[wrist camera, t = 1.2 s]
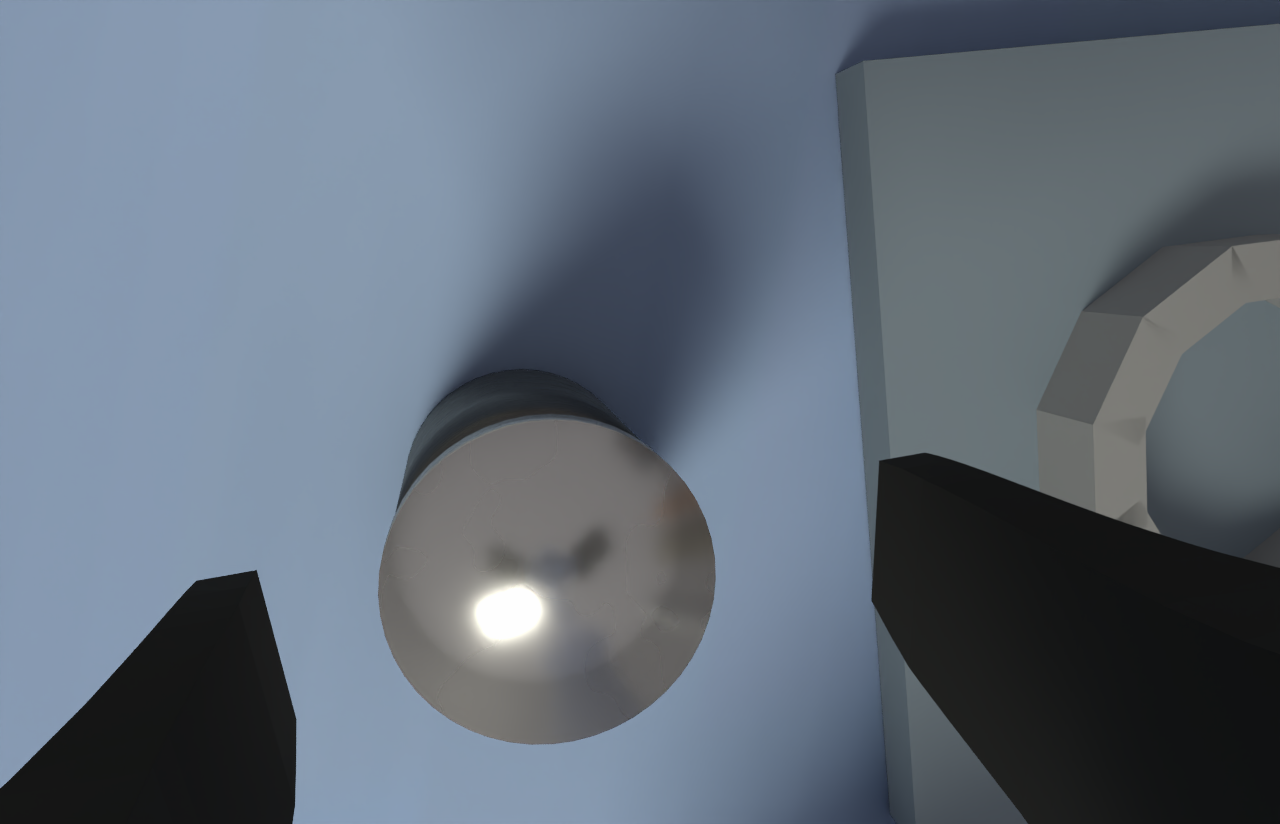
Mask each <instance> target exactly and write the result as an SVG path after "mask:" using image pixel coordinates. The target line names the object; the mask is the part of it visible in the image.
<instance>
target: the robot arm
mask: <svg viewBox="0 0 1280 824" xmlns="http://www.w3.org/2000/svg"><path fill="white" fill-rule="evenodd" d="M872 602H873V604H874V606H875V608H876V610H877V612H878V613H879V615H880V617H881V619H882V621H883V623H884V625H885V627H886V628H887V630H888V632H889V634H890V636H891V638H892V639H893V641H894V643H895V644H896V646H897V648H898V650H899V651H900V653H901V655H902V656H903V658H904V660H905V662H906V663H907V665H908V667H909V668H910V670H911V671H912V672H913V674H914V675H915V676H916V678H917V679H918V680H919V682H920V683H921V685H922V686H923V687H924V689H925V690H926V691H927V692H928V694H929V695H930V696H931V698H932V699H933V700H934V702H935V703H936V704H937V706H938V707H939V708H940V710H941V711H942V712H943V714H944V715H945V716H946V718H947V719H948V720H949V722H950V723H951V724H952V725H953V727H954V728H955V729H956V731H957V732H958V733H959V734H960V736H961V737H962V738H963V740H964V741H965V742H966V743H967V745H968V746H969V747H970V749H971V750H972V751H973V753H974V754H975V755H976V756H977V758H978V759H979V760H980V762H981V763H982V764H983V765H984V767H985V768H986V769H987V771H988V772H989V773H990V775H991V776H992V777H993V778H994V780H995V781H996V782H997V784H998V785H999V786H1000V787H1001V789H1002V790H1003V791H1004V793H1005V794H1006V795H1007V797H1008V798H1009V799H1010V800H1011V802H1012V803H1013V804H1014V806H1015V807H1016V808H1017V809H1018V811H1019V812H1020V813H1021V815H1022V816H1023V818H1024V819H1025V820H1026V822H1027V823H1028V824H1280V568H1279V567H1275V566H1271V565H1267V564H1263V563H1259V562H1255V561H1251V560H1247V559H1243V558H1240V557H1236V556H1232V555H1228V554H1224V553H1220V552H1217V551H1213V550H1210V549H1206V548H1203V547H1200V546H1196V545H1193V544H1189V543H1186V542H1183V541H1180V540H1177V539H1174V538H1171V537H1167V536H1164V535H1161V534H1158V533H1155V532H1152V531H1149V530H1146V529H1143V528H1140V527H1136V526H1133V525H1130V524H1127V523H1125V522H1122V521H1119V520H1116V519H1113V518H1110V517H1107V516H1104V515H1102V514H1099V513H1096V512H1093V511H1090V510H1088V509H1085V508H1082V507H1079V506H1077V505H1074V504H1071V503H1069V502H1066V501H1063V500H1060V499H1058V498H1055V497H1052V496H1050V495H1047V494H1044V493H1042V492H1039V491H1037V490H1034V489H1031V488H1029V487H1026V486H1023V485H1021V484H1018V483H1015V482H1013V481H1010V480H1007V479H1005V478H1002V477H999V476H997V475H994V474H991V473H989V472H986V471H983V470H980V469H977V468H975V467H972V466H969V465H966V464H963V463H960V462H957V461H954V460H951V459H948V458H944V457H941V456H937V455H933V454H929V453H919V454H914V455H908V456H902V457H897V458H891V459H885V460H880V461H879V472H878V490H877V509H876V527H875V546H874V564H873V582H872ZM295 782H296V717H295V713H294V709H293V705H292V701H291V698H290V694H289V690H288V686H287V683H286V679H285V675H284V671H283V668H282V664H281V660H280V656H279V653H278V649H277V645H276V641H275V638H274V634H273V630H272V626H271V623H270V619H269V615H268V611H267V608H266V604H265V600H264V596H263V593H262V589H261V585H260V581H259V577H258V574H257V570H255V571H250V572H244V573H238V574H233V575H227V576H221V577H216V578H210V579H204V580H199V581H196V582H195V583H194V584H193V585H192V586H191V587H190V588H189V589H188V590H187V591H186V592H185V593H184V594H183V595H182V597H181V598H180V599H179V600H178V601H177V602H176V603H175V604H174V606H173V607H172V608H171V609H170V610H169V611H168V612H167V614H166V615H165V616H164V617H163V618H162V619H161V620H160V622H159V623H158V624H157V625H156V626H155V627H154V628H153V630H152V631H151V632H150V633H149V634H148V635H147V636H146V638H145V639H144V640H143V641H142V642H141V643H140V644H139V646H138V647H137V648H136V649H135V650H134V651H133V652H132V653H131V655H130V656H129V657H128V658H127V659H126V660H125V661H124V662H123V663H122V664H121V666H120V667H119V668H118V669H117V670H116V671H115V672H114V673H113V674H112V675H111V677H110V678H109V679H108V680H107V681H106V682H105V683H104V684H103V685H102V686H101V688H100V689H99V690H98V691H97V692H96V693H95V694H94V695H93V696H92V698H91V699H90V700H89V701H88V702H87V703H86V704H85V705H84V706H83V707H82V708H81V709H80V710H79V711H78V712H77V713H76V714H75V715H74V716H73V717H72V718H71V719H70V720H69V721H68V722H67V723H66V724H65V725H64V726H63V727H62V728H61V729H60V730H59V731H58V732H57V733H56V734H55V735H54V736H53V737H52V738H51V739H50V740H49V741H48V742H47V743H46V744H45V745H44V746H43V747H42V748H41V749H40V750H39V751H38V752H37V753H36V754H35V755H34V756H33V757H32V758H31V759H30V760H29V761H28V762H27V763H26V764H25V765H24V766H23V767H22V768H21V769H20V770H19V771H18V772H17V773H16V774H15V775H14V776H13V777H12V778H11V779H10V780H9V781H8V782H7V783H6V784H5V785H4V786H3V787H2V788H0V824H292V822H293V815H294V808H295Z"/></svg>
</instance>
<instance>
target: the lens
mask: <svg viewBox="0 0 1280 824" xmlns="http://www.w3.org/2000/svg"><path fill="white" fill-rule="evenodd" d="M715 579H716V578H715V557H714V551H713V545H712V540H711V536H710V533H709V529H708V526H707V523H706V520H705V517H704V515H703V513H702V511H701V509H700V507H699V505H698V503H697V501H696V499H695V497H694V496H693V494H692V493H691V491H690V490H689V488H688V487H687V485H686V484H685V482H684V481H683V480H682V479H681V478H680V477H679V475H678V474H677V473H676V472H675V471H674V470H673V469H672V467H671V466H670V465H669V464H668V463H667V462H665V461H664V460H663V459H662V458H661V457H660V456H659V455H658V454H657V453H655V452H654V451H653V450H652V449H651V448H650V447H649V446H647V445H646V444H644V443H643V442H641V441H640V440H639V439H638V438H637V437H636V436H635V435H634V434H633V433H632V432H631V431H630V430H629V429H628V428H627V427H626V426H625V425H624V424H623V423H622V422H621V421H620V420H619V419H618V418H617V417H616V416H615V415H614V414H613V413H612V412H611V411H610V410H609V409H608V408H607V407H606V406H605V405H604V404H603V403H602V402H601V401H600V400H599V399H598V398H596V397H595V396H594V395H593V394H592V393H591V392H589V391H588V390H586V389H585V388H583V387H582V386H580V385H579V384H577V383H575V382H573V381H571V380H568V379H566V378H564V377H561V376H558V375H555V374H552V373H548V372H543V371H537V370H523V369H519V370H505V371H500V372H496V373H491V374H488V375H485V376H482V377H479V378H476V379H474V380H472V381H470V382H468V383H466V384H464V385H462V386H461V387H459V388H458V389H456V390H455V391H453V392H452V393H450V394H449V395H448V396H447V397H446V398H444V399H443V400H442V401H441V402H440V403H439V404H438V405H437V406H436V407H435V408H434V409H433V410H432V412H431V413H430V414H429V415H428V416H427V418H426V419H425V421H424V422H423V424H422V425H421V427H420V429H419V431H418V433H417V435H416V437H415V439H414V441H413V444H412V447H411V450H410V453H409V456H408V461H407V465H406V470H405V474H404V478H403V483H402V487H401V491H400V496H399V500H398V505H397V509H396V513H395V516H394V518H393V520H392V523H391V526H390V529H389V532H388V535H387V538H386V542H385V546H384V550H383V555H382V561H381V566H380V572H379V590H378V597H379V607H380V617H381V621H382V625H383V629H384V633H385V637H386V640H387V642H388V645H389V647H390V650H391V652H392V655H393V657H394V659H395V661H396V662H397V664H398V666H399V668H400V669H401V671H402V673H403V674H404V676H405V677H406V679H407V680H408V681H409V682H410V684H411V685H412V686H413V687H414V689H415V690H416V691H417V693H418V694H420V695H421V696H422V697H423V698H424V699H425V700H426V701H427V702H428V703H429V704H430V705H431V706H432V707H433V708H435V709H436V710H437V711H439V712H440V713H442V714H443V715H444V716H446V717H447V718H448V719H450V720H452V721H453V722H455V723H457V724H459V725H461V726H463V727H465V728H466V729H468V730H471V731H474V732H476V733H479V734H481V735H484V736H487V737H490V738H494V739H498V740H503V741H507V742H513V743H522V744H556V743H563V742H570V741H576V740H579V739H583V738H587V737H591V736H595V735H597V734H600V733H602V732H605V731H607V730H610V729H612V728H615V727H616V726H618V725H620V724H622V723H624V722H626V721H628V720H629V719H631V718H633V717H635V716H636V715H637V714H639V713H640V712H642V711H643V710H644V709H646V708H647V707H649V706H650V705H651V704H653V703H654V702H655V701H656V700H657V699H658V698H659V697H660V696H661V695H663V694H664V693H665V692H666V691H667V690H668V689H669V687H670V686H671V685H672V684H673V683H674V682H675V681H676V679H677V678H678V677H679V676H680V675H681V673H682V672H683V671H684V669H685V668H686V666H687V665H688V663H689V662H690V660H691V659H692V657H693V655H694V653H695V651H696V649H697V648H698V646H699V644H700V642H701V640H702V637H703V635H704V632H705V629H706V626H707V624H708V621H709V617H710V613H711V609H712V604H713V600H714V590H715Z"/></svg>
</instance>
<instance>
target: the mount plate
mask: <svg viewBox="0 0 1280 824" xmlns="http://www.w3.org/2000/svg"><path fill="white" fill-rule="evenodd" d="M835 75H836V89H837V102H838V116H839V130H840V143H841V157H842V170H843V184H844V197H845V211H846V224H847V238H848V252H849V265H850V279H851V292H852V306H853V319H854V333H855V346H856V360H857V373H858V387H859V401H860V414H861V428H862V441H863V455H864V468H865V482H866V495H867V509H868V523H869V536H870V550H871V563H872V577H873V564H874V546H875V527H876V509H877V490H878V472H879V461H880V460H885V459H891V458H897V457H902V456H908V455H914V454H919V453H929V454H933V455H937V456H941V457H944V458H948V459H951V460H954V461H957V462H960V463H963V464H966V465H969V466H972V467H975V468H977V469H980V470H983V471H986V472H989V473H991V474H994V475H997V476H999V477H1002V478H1005V479H1007V480H1010V481H1013V482H1015V483H1018V484H1021V485H1023V486H1026V487H1029V488H1031V489H1034V490H1037V491H1039V492H1042V493H1044V494H1047V495H1050V496H1052V497H1055V498H1058V499H1060V500H1063V501H1066V502H1069V503H1071V504H1074V505H1077V506H1079V507H1082V508H1085V509H1088V510H1090V511H1093V512H1096V513H1099V514H1102V515H1104V516H1107V517H1110V518H1113V519H1116V520H1119V521H1122V522H1125V523H1127V524H1130V525H1133V526H1136V527H1140V528H1143V529H1146V530H1149V531H1152V532H1155V533H1158V534H1161V535H1164V536H1167V537H1171V538H1174V539H1177V540H1180V541H1183V542H1186V543H1189V544H1193V545H1196V546H1200V547H1203V548H1206V549H1210V550H1213V551H1217V552H1220V553H1224V554H1228V555H1232V556H1236V557H1240V558H1243V559H1247V560H1251V561H1255V562H1259V563H1263V564H1267V565H1271V566H1275V567H1279V568H1280V24H1270V25H1259V26H1248V27H1237V28H1225V29H1214V30H1203V31H1192V32H1181V33H1170V34H1159V35H1147V36H1136V37H1125V38H1114V39H1103V40H1092V41H1080V42H1069V43H1058V44H1047V45H1036V46H1025V47H1014V48H1002V49H991V50H980V51H969V52H958V53H947V54H936V55H924V56H913V57H902V58H891V59H880V60H869V61H862V62H860V63H858V64H856V65H854V66H852V67H850V68H847V69H845V70H843V71H841V72H839V73H837V74H835ZM875 617H876V631H877V645H878V658H879V672H880V685H881V699H882V712H883V726H884V739H885V753H886V767H887V780H888V794H889V807H890V815H891V816H892V818H893V819H894V820H895V821H896V823H897V824H1028V823H1027V822H1026V820H1025V819H1024V818H1023V816H1022V815H1021V813H1020V812H1019V811H1018V809H1017V808H1016V807H1015V806H1014V804H1013V803H1012V802H1011V800H1010V799H1009V798H1008V797H1007V795H1006V794H1005V793H1004V791H1003V790H1002V789H1001V787H1000V786H999V785H998V784H997V782H996V781H995V780H994V778H993V777H992V776H991V775H990V773H989V772H988V771H987V769H986V768H985V767H984V765H983V764H982V763H981V762H980V760H979V759H978V758H977V756H976V755H975V754H974V753H973V751H972V750H971V749H970V747H969V746H968V745H967V743H966V742H965V741H964V740H963V738H962V737H961V736H960V734H959V733H958V732H957V731H956V729H955V728H954V727H953V725H952V724H951V723H950V722H949V720H948V719H947V718H946V716H945V715H944V714H943V712H942V711H941V710H940V708H939V707H938V706H937V704H936V703H935V702H934V700H933V699H932V698H931V696H930V695H929V694H928V692H927V691H926V690H925V689H924V687H923V686H922V685H921V683H920V682H919V680H918V679H917V678H916V676H915V675H914V674H913V672H912V671H911V670H910V668H909V667H908V665H907V663H906V662H905V660H904V658H903V656H902V655H901V653H900V651H899V650H898V648H897V646H896V644H895V643H894V641H893V639H892V638H891V636H890V634H889V632H888V630H887V628H886V627H885V625H884V623H883V621H882V619H881V617H880V615H879V613H878V612H877V610H876V608H875Z"/></svg>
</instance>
